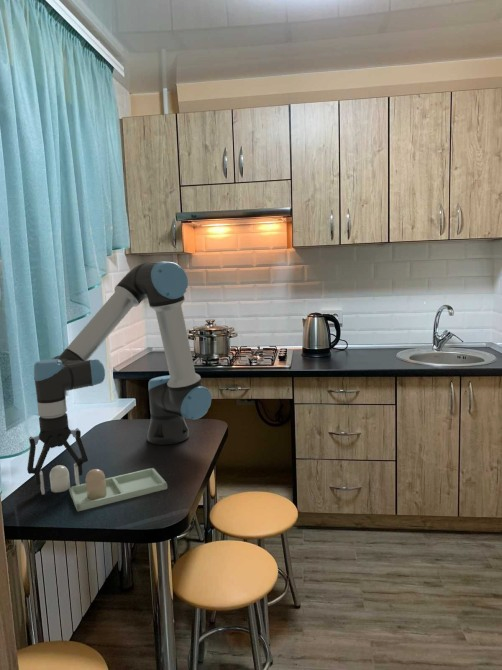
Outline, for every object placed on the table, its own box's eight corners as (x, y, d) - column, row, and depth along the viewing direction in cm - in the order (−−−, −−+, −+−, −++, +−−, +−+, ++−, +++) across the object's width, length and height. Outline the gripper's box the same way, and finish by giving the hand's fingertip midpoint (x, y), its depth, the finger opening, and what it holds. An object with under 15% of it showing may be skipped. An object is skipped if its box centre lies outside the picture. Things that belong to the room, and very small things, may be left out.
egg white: (69, 485, 152) (66, 461, 151) (71, 492, 147) (69, 466, 146) (50, 489, 149) (47, 464, 148) (52, 496, 145) (49, 471, 144)
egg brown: (104, 490, 146) (102, 464, 145) (108, 497, 141) (106, 470, 140) (85, 494, 143) (83, 468, 142) (89, 501, 139) (86, 475, 138)
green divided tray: (153, 475, 156) (153, 467, 156) (167, 491, 145) (167, 483, 144) (69, 495, 145) (69, 487, 145) (77, 514, 134) (76, 505, 133)
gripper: (89, 405, 153) (96, 477, 156) (10, 418, 143) (19, 494, 147) (94, 411, 147) (101, 486, 150) (11, 425, 137) (20, 505, 140)
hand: (60, 490), depth 148 cm, fingers open, 9 cm apart
